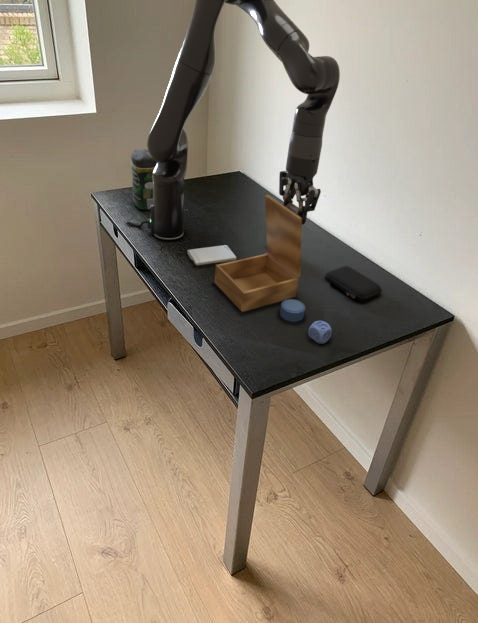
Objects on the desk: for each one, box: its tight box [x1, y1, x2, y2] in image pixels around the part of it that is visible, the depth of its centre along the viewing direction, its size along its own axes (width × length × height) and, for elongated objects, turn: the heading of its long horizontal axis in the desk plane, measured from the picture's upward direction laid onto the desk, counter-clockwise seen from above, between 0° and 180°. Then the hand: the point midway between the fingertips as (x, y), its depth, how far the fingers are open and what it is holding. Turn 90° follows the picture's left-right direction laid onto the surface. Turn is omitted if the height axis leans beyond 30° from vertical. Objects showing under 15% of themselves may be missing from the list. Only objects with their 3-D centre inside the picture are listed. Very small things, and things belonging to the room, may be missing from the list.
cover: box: [264, 194, 302, 279], centre depth 124 cm, size 17×15×5 cm
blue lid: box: [279, 298, 306, 323], centre depth 121 cm, size 6×6×4 cm
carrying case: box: [325, 265, 383, 302], centre depth 134 cm, size 11×3×15 cm
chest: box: [214, 253, 300, 313], centre depth 128 cm, size 17×15×6 cm
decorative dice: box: [307, 320, 333, 345], centre depth 114 cm, size 4×4×4 cm
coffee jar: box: [130, 148, 157, 211], centre depth 162 cm, size 10×8×19 cm
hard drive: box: [186, 244, 238, 266], centre depth 142 cm, size 2×8×12 cm
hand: (293, 219), depth 122 cm, fingers open, 5 cm apart
